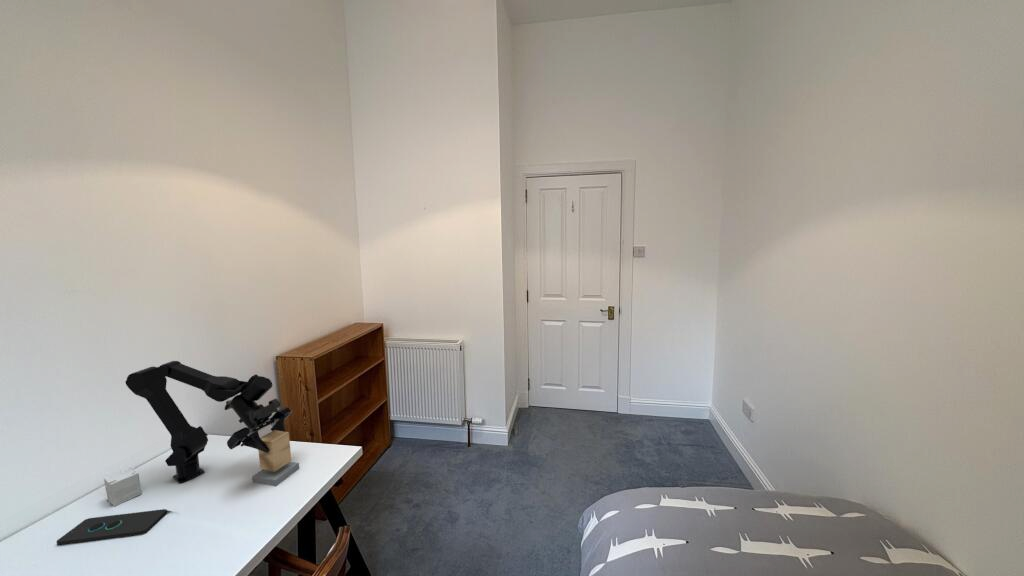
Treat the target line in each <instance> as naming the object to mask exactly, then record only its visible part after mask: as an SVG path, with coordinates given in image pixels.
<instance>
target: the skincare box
mask: <svg viewBox="0 0 1024 576" xmlns="http://www.w3.org/2000/svg"><path fill="white" fill-rule="evenodd" d="M139 474H140V473H139V472H137V471H136V470H135V469H133V467H130V468H127V469H125V470H122V471H120V472H119V471H118V472H117V473H115V474H111V475H108V476H106V477H105V478H103V483H104V486H105V492H106V499H107V501H108V502H109V503H110V504H111V505H112V506H113V507H116V506H119V505H121V504H123V503H126V502H127V501H129V500H131V499H134V498H136V497H138V496H140V495H142V494H143V493H142V486H141V481H140V475H139Z"/></svg>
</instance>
